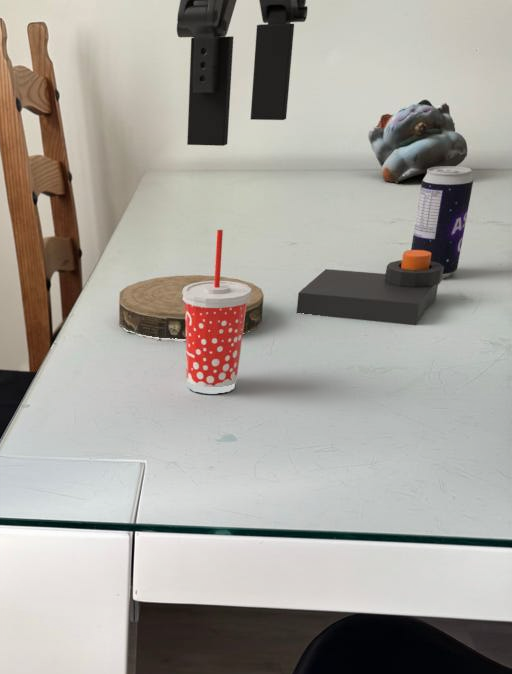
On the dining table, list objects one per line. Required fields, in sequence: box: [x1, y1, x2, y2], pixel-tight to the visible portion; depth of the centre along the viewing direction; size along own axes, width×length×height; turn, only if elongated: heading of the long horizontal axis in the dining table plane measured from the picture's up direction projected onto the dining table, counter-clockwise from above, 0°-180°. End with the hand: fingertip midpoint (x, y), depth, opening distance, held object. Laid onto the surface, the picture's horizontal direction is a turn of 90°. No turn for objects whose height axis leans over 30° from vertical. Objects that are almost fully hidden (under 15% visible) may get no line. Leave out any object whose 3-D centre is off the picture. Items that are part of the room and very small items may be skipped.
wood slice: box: [118, 274, 265, 339], centre depth 112 cm, size 16×16×3 cm
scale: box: [296, 259, 444, 326], centre depth 113 cm, size 13×12×4 cm
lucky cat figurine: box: [367, 99, 468, 184], centre depth 175 cm, size 15×12×14 cm
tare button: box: [401, 249, 431, 270], centre depth 112 cm, size 3×3×2 cm
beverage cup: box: [182, 229, 251, 387], centre depth 91 cm, size 6×6×14 cm
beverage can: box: [410, 166, 474, 280], centre depth 120 cm, size 6×6×12 cm
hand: (239, 131), depth 75 cm, fingers open, 13 cm apart
